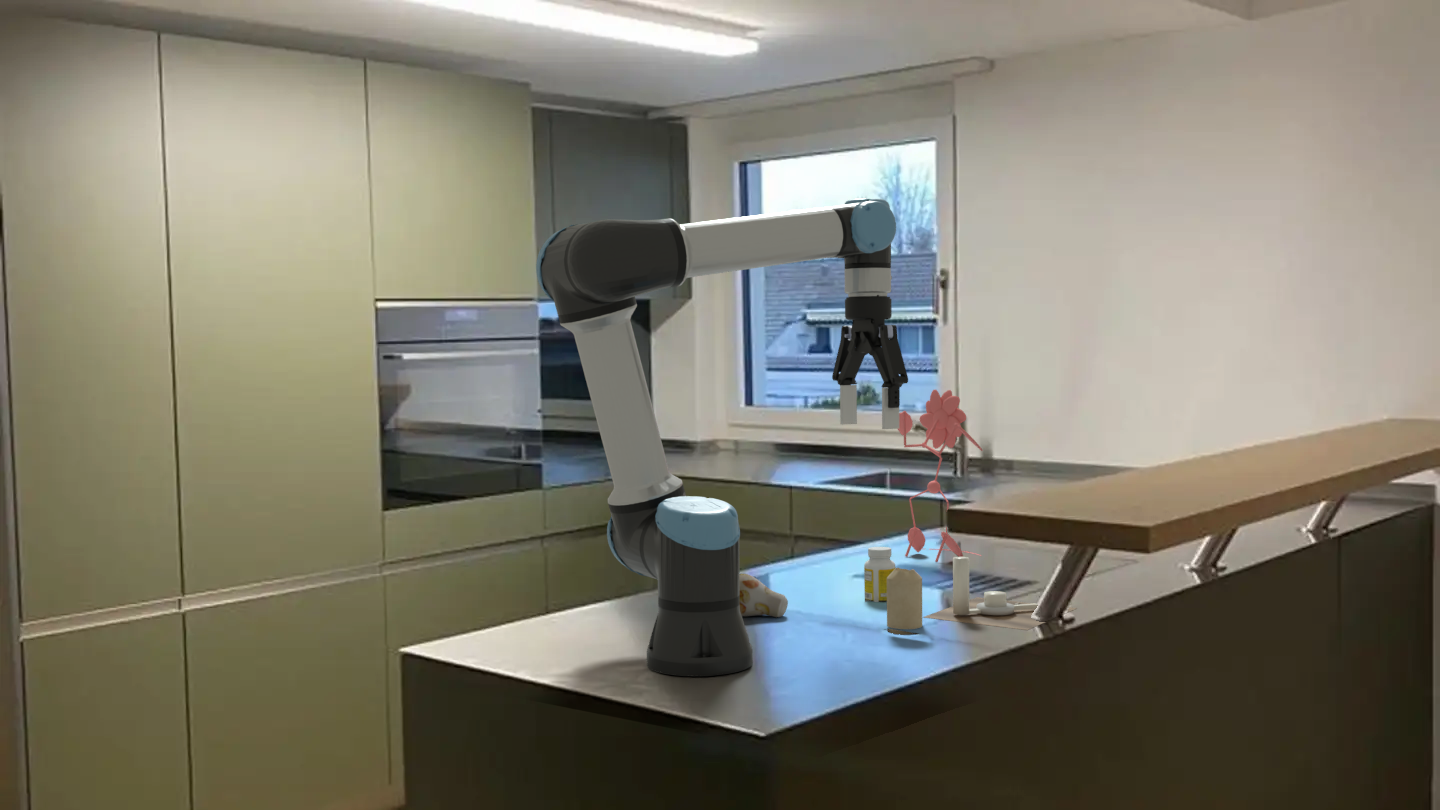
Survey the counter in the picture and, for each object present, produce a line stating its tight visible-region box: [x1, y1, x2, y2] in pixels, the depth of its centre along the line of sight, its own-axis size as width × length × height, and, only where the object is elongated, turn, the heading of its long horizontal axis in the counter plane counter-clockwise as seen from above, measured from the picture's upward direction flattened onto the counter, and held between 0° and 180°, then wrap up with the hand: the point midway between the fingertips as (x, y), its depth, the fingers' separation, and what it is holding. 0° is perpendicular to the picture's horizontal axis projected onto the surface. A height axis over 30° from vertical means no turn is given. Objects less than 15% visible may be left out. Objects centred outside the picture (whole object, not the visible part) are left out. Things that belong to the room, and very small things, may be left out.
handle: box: [952, 556, 1039, 615], centre depth 227 cm, size 15×6×9 cm, turn 104°
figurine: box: [897, 389, 984, 563], centre depth 290 cm, size 15×26×35 cm, turn 35°
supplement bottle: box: [863, 546, 897, 603], centre depth 241 cm, size 5×5×10 cm
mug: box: [739, 573, 789, 618], centre depth 233 cm, size 8×10×10 cm
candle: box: [886, 567, 923, 636], centre depth 219 cm, size 6×6×10 cm
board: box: [922, 596, 1078, 631], centre depth 228 cm, size 20×18×1 cm
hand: (869, 426), depth 227 cm, fingers open, 13 cm apart
